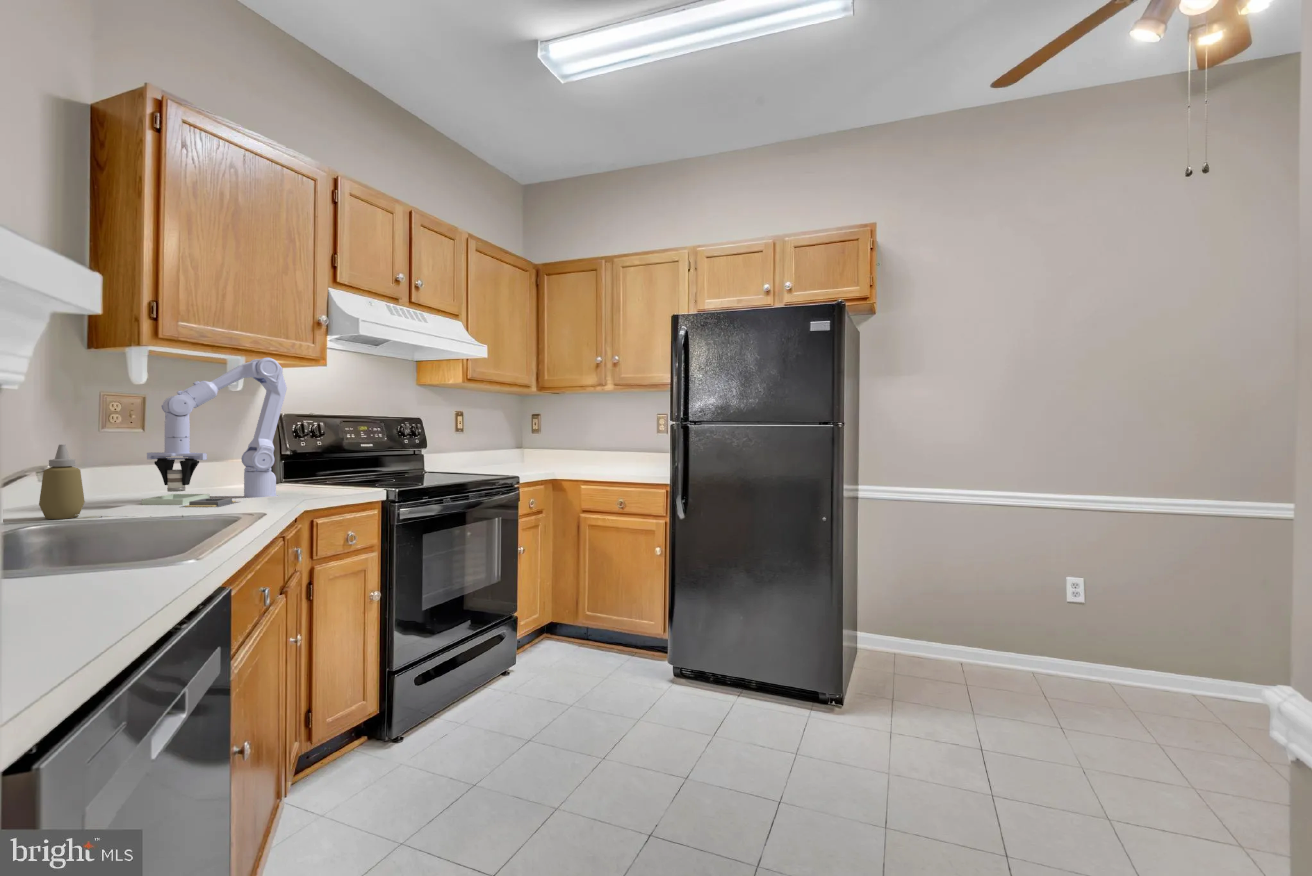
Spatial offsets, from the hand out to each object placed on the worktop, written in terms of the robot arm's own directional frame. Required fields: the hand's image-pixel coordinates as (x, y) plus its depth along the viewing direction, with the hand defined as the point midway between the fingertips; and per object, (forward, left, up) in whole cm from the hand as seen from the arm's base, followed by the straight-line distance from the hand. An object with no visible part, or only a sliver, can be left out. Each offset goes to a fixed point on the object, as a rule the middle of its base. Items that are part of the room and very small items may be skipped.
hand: (177, 484), depth 176 cm
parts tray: (0, 0, -6) cm, 6 cm away
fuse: (0, 0, -2) cm, 2 cm away
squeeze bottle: (+24, -12, -6) cm, 28 cm away
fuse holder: (+6, +12, -6) cm, 15 cm away
